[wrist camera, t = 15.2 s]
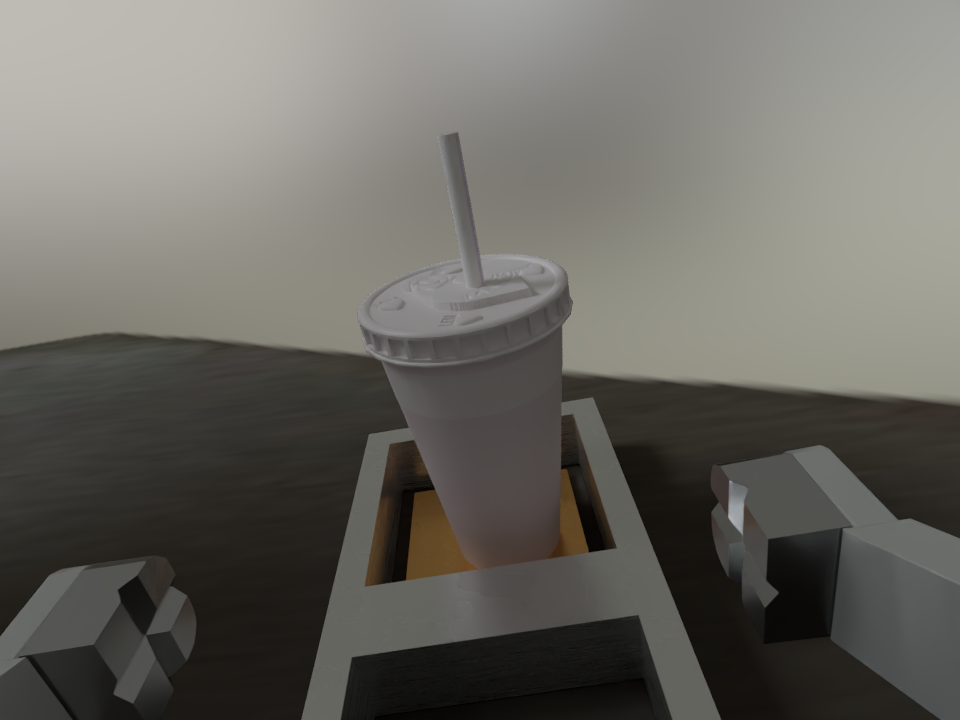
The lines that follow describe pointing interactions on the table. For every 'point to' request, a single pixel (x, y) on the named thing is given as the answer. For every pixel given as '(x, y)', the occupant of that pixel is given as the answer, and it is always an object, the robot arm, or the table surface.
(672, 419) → the table surface
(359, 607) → the cup holder
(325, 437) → the table surface
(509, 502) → the smoothie
